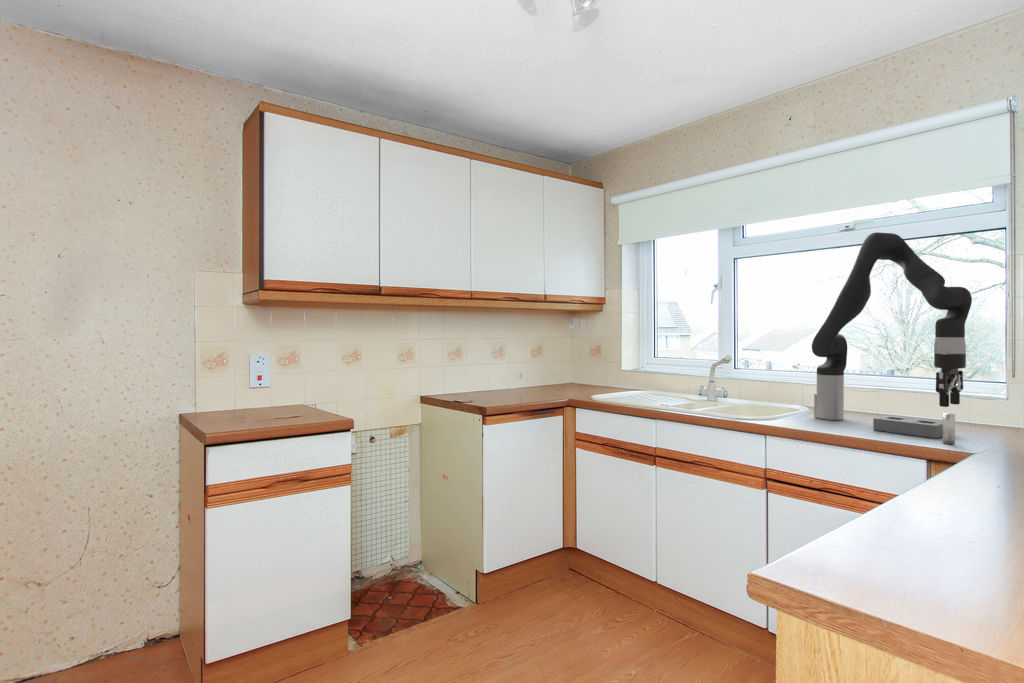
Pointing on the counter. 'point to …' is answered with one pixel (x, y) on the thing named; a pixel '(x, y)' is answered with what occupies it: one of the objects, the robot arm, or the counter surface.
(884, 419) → the hole block
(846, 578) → the counter surface
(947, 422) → the steel peg
